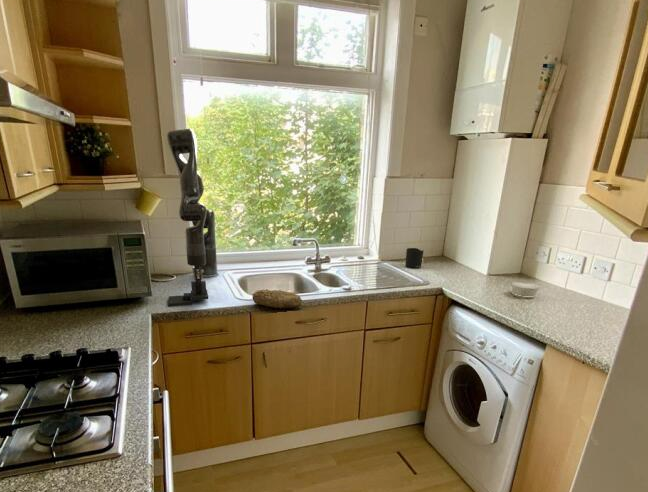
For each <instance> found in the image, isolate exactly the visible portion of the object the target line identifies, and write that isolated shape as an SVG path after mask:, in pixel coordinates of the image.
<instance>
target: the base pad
mask: <svg viewBox="0 0 648 492" xmlns="http://www.w3.org/2000/svg"><path fill="white" fill-rule="evenodd" d="M191 305H192V300H191V298H184V294H181V295H169V296H168V305H167V306H168V307H180V306H191Z"/></svg>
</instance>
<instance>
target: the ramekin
mask: <svg viewBox="0 0 648 492" xmlns="http://www.w3.org/2000/svg"><path fill="white" fill-rule="evenodd" d="M539 287H540V286H539V285H537V284H535V283H532V282H527V281H513V282H512V283H511V294H512V296H514V297H517V298H521V299H533V298H535V296H536V295H537V293H538V290H539ZM512 292H513V293H514V294H513V293H512ZM515 294H517V295H515ZM518 295H521V296H518ZM523 296H534V297H523Z"/></svg>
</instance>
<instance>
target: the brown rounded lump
mask: <svg viewBox="0 0 648 492" xmlns="http://www.w3.org/2000/svg"><path fill="white" fill-rule="evenodd" d="M251 297H252V300H253V302H254V304H257V305H260V306H263V307H264V306H265V307H269V308H273V309H293V308H297V307H300V306H302V305H303V299H302V297H301V296H300V295H299V294H296V293H294V292H289V291H285V290H281V289H280V290H279V289H275V290H269V289H257V290H255V292H253V293H252V296H251Z"/></svg>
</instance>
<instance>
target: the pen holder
mask: <svg viewBox="0 0 648 492" xmlns="http://www.w3.org/2000/svg"><path fill="white" fill-rule="evenodd" d="M405 251H406V252H405V267H406V268H408V269H412V270H413V269H414V270H415V269H416V270H417V269H421V268H422V264H423V257H424V250H422V249H419V248H418V247H408V248H406V250H405Z"/></svg>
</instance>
